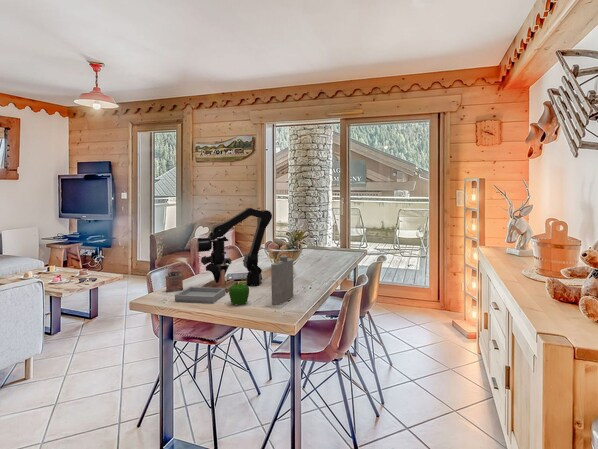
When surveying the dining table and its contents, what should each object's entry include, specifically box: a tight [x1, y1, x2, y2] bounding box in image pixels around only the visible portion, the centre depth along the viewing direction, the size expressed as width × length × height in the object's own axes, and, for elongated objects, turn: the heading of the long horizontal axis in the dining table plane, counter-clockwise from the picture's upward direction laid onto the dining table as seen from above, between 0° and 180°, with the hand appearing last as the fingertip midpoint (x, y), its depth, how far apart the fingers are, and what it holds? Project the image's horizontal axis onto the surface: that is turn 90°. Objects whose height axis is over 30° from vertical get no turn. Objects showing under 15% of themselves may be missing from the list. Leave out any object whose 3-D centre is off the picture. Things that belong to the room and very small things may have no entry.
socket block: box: [201, 279, 239, 294], centre depth 181 cm, size 14×14×2 cm
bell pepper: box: [228, 280, 250, 306], centre depth 156 cm, size 8×8×10 cm
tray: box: [174, 286, 226, 305], centre depth 165 cm, size 18×14×3 cm
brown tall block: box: [213, 270, 226, 286], centre depth 181 cm, size 4×4×9 cm
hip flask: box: [270, 254, 294, 306], centre depth 160 cm, size 16×4×20 cm, turn 152°
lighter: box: [165, 269, 184, 293], centre depth 176 cm, size 8×3×10 cm, turn 118°
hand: (219, 281), depth 181 cm, fingers open, 6 cm apart
